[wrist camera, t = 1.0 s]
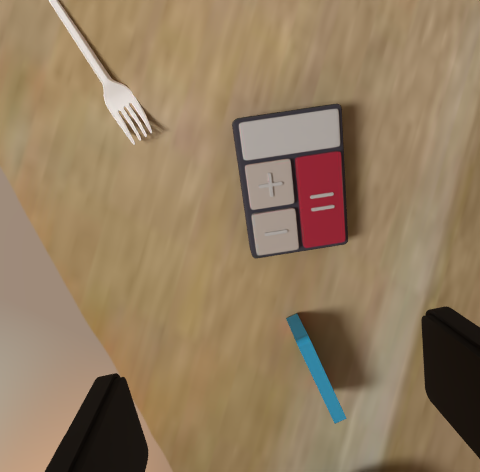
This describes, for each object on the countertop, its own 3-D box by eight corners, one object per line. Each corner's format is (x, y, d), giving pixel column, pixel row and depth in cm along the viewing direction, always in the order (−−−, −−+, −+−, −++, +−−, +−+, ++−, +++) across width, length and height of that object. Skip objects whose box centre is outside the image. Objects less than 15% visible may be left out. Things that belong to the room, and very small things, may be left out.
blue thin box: (285, 316, 42) (296, 343, 36) (296, 311, 42) (309, 337, 36) (319, 389, 44) (335, 425, 38) (330, 385, 44) (347, 420, 38)
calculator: (253, 261, 36) (233, 118, 32) (249, 249, 40) (231, 120, 36) (351, 246, 36) (344, 101, 32) (337, 235, 41) (330, 106, 36)
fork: (39, -53, 32) (28, -67, 30) (159, 132, 36) (156, 130, 34) (12, -34, 32) (-1, -46, 30) (134, 148, 36) (130, 147, 34)
